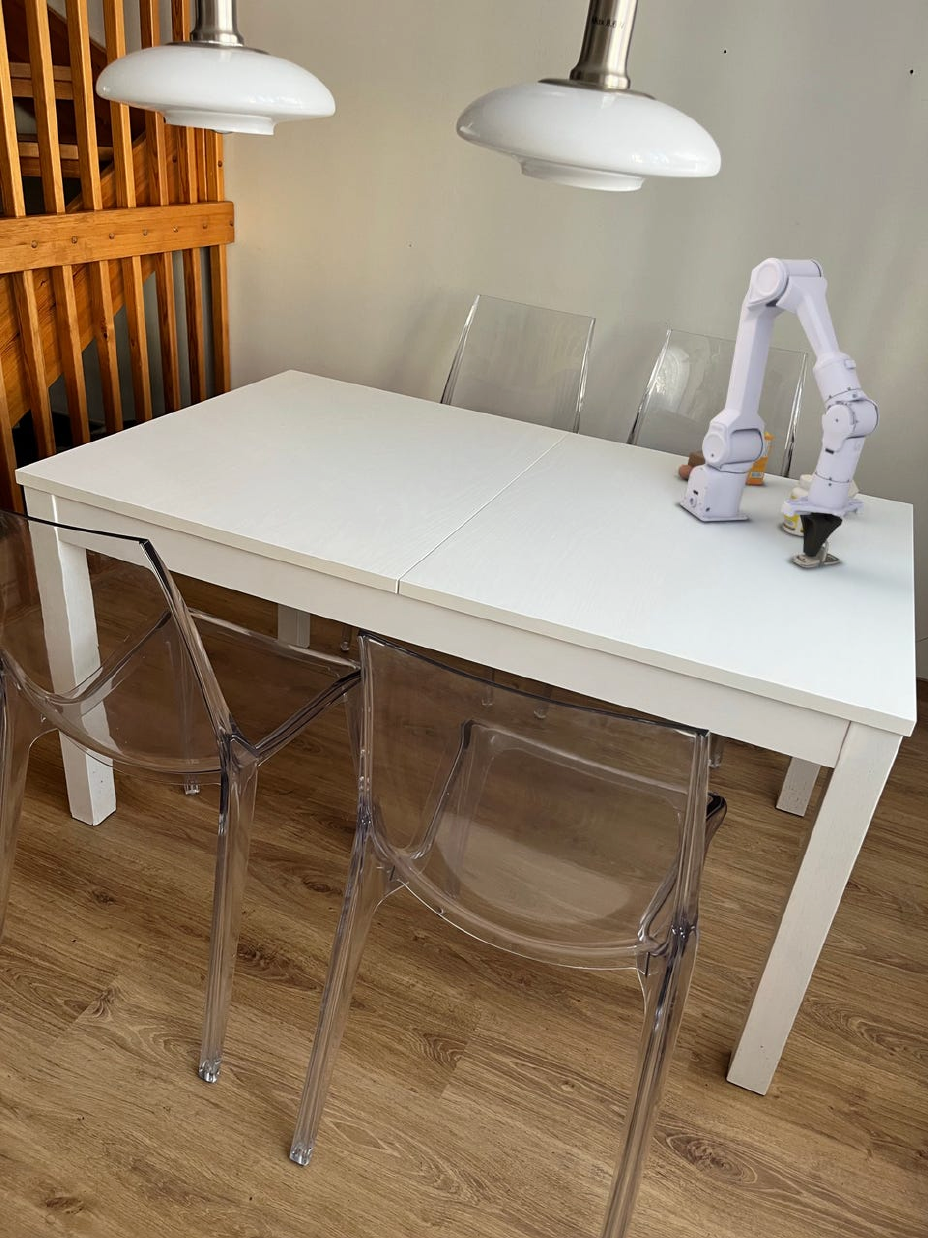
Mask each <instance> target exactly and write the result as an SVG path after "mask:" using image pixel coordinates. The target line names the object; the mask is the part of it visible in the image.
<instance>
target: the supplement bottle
mask: <svg viewBox="0 0 928 1238" xmlns="http://www.w3.org/2000/svg"><path fill="white" fill-rule="evenodd" d="M813 476H814V475H812V474H801V475H800V478H799V481H798V486H795V487H794V488H792V491H791V494H790V497H789V499H788V501H790V500H794V499H798V498H802V497H805V496H808V493H809V489H810V486H811V483H812V479H813ZM782 529H783V530H784V531H785V532H787V533H789V534H790V535H791V534H792V535H795V536H799V537H803V527H802V522H801V518H800V515H794V516H793V517H788V516H786V515H785V514H784V518H783V522H782Z"/></svg>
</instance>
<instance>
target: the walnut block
mask: <svg viewBox="0 0 928 1238" xmlns="http://www.w3.org/2000/svg"><path fill="white" fill-rule="evenodd" d="M705 461H706V460H705V458H704V455H703V451H702V449H701V450H697V451H692V452H689V456H688V460H687V465H690V466H692V467H693V468H695V467H696V466H701V465H704V464H706V463H705Z"/></svg>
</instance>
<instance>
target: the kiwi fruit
mask: <svg viewBox="0 0 928 1238" xmlns="http://www.w3.org/2000/svg"><path fill="white" fill-rule="evenodd" d="M693 469H694V468H693V467H692V466H690V465H688V464H682V465H680V466H679V467H678V470H677V472H678V473H677V474H678V475H679V477H681V478H683V479H685V480H689V476H690V473H691V471H692V470H693Z"/></svg>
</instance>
